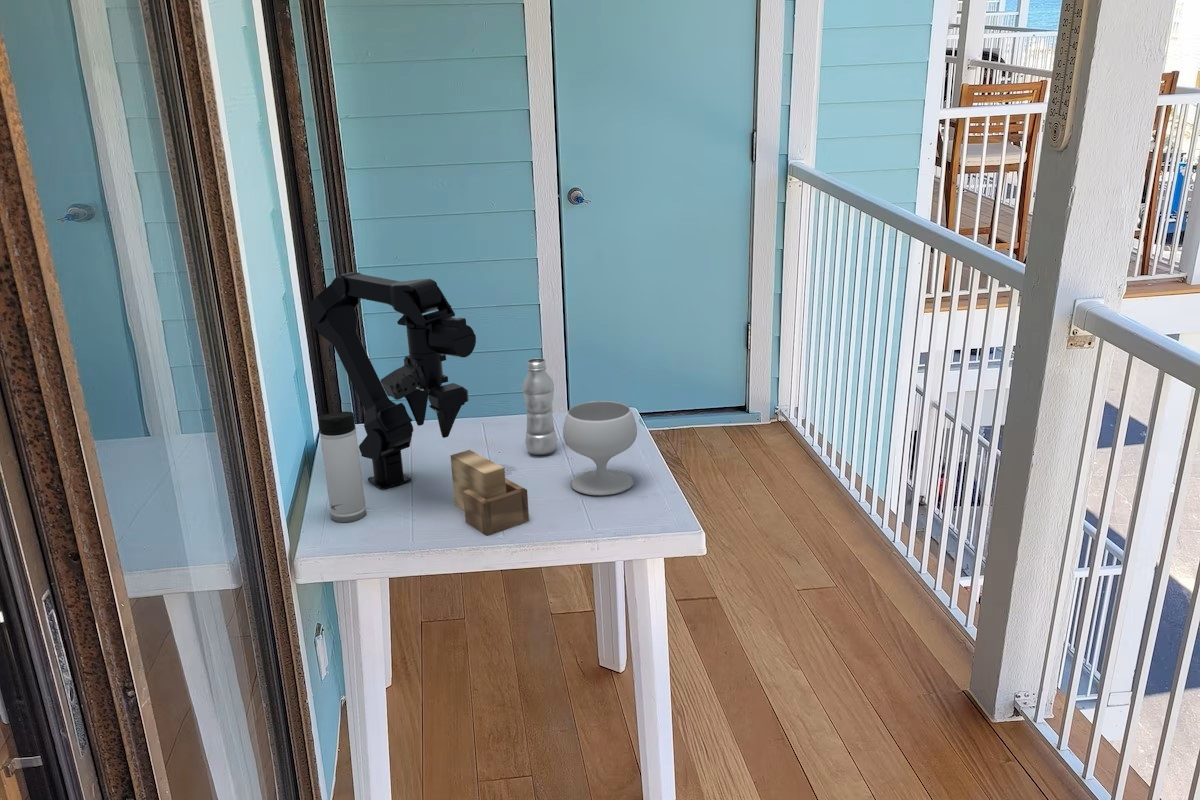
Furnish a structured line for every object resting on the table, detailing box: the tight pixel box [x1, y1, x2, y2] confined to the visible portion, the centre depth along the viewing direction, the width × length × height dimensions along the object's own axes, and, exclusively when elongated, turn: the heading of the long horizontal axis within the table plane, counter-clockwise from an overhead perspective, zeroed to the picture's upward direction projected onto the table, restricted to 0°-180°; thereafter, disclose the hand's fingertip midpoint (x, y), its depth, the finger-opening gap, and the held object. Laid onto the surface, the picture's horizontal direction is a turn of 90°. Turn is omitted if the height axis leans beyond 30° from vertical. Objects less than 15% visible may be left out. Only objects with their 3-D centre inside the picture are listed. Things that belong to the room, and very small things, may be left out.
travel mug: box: [317, 411, 367, 523], centre depth 179 cm, size 6×7×20 cm
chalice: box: [562, 400, 638, 496], centre depth 189 cm, size 14×14×15 cm
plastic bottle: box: [521, 357, 558, 456], centre depth 206 cm, size 6×7×20 cm
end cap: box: [463, 477, 530, 536], centre depth 177 cm, size 7×9×6 cm
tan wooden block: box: [450, 449, 506, 512], centre depth 180 cm, size 12×4×10 cm, turn 38°
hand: (432, 431), depth 186 cm, fingers open, 9 cm apart
